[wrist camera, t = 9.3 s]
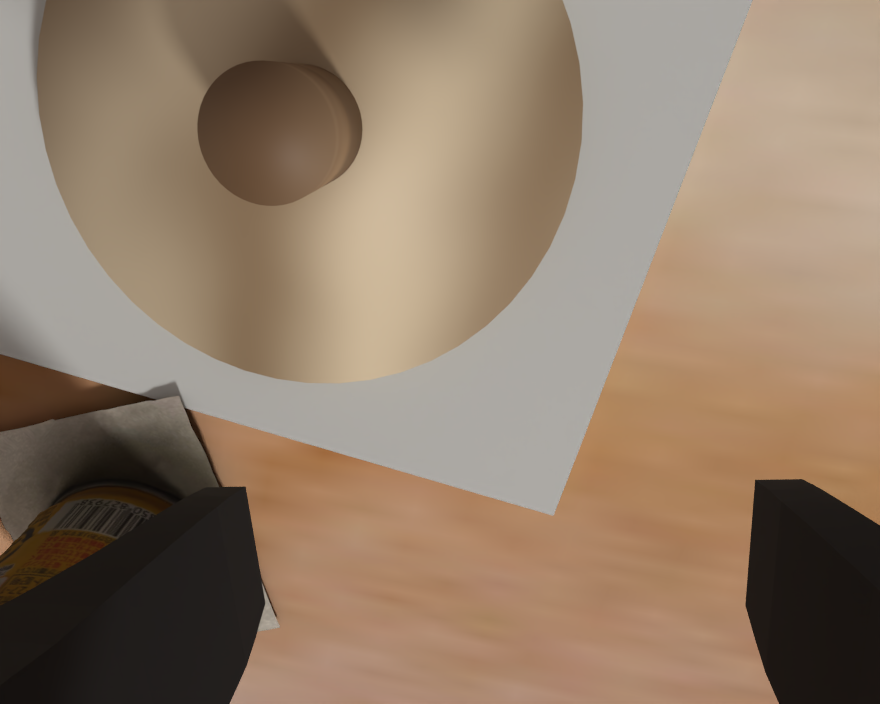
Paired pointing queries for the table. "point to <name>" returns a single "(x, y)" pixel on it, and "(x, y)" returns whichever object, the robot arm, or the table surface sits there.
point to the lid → (314, 167)
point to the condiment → (93, 486)
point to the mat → (459, 370)
